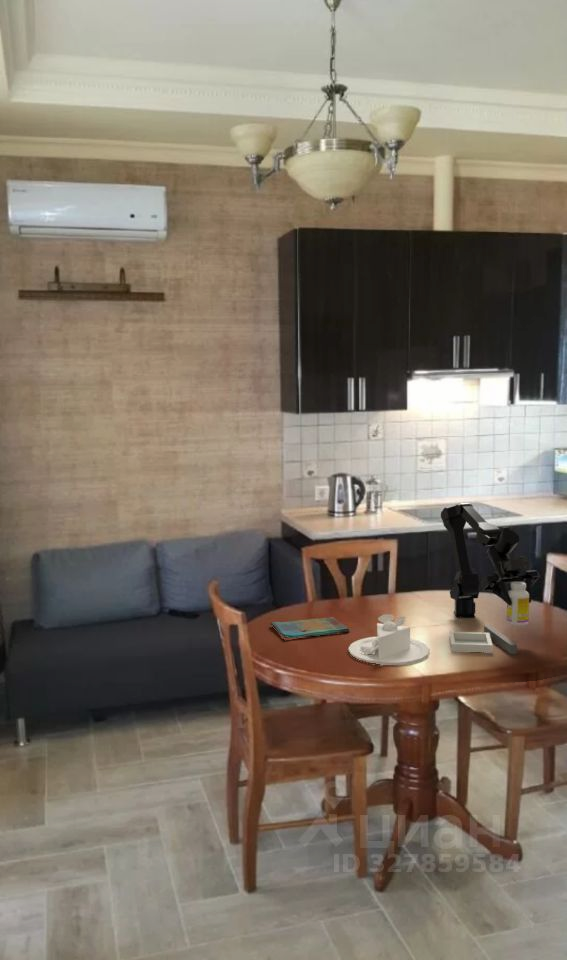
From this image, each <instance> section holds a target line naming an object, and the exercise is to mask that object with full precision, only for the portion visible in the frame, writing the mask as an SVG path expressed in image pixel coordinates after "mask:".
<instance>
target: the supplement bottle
mask: <svg viewBox="0 0 567 960" xmlns="http://www.w3.org/2000/svg"><path fill="white" fill-rule="evenodd" d="M525 589H526V583H524V582H511V583H510V590H508V591H507V593H508V595H509V597H510V599H511V602H512V605H508V604H507V603H506V622H507V623H508V624H509V625H513V626H518V627H519V626H526V625H528V624H529V619H530V603H529V593H528V592H527V591H525Z"/></svg>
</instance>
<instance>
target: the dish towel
mask: <svg viewBox="0 0 567 960" xmlns="http://www.w3.org/2000/svg"><path fill="white" fill-rule="evenodd" d="M271 625H273V627H274V628H275V629H276V630H277V631H278V632H279V633H280V634H282V635H283V636H284V637H285V638H294V637H296V638H297V637H309V638H311V637H310V636H317V637H321V636H320V635H326V636H329V635H328V634H334V635H338V634H337V633H342V634H348V633H347V632H349V633H350V632H351V630H350V628H349V627H347V626H346V625H344V624H343V623H341V622H340V621H339V620H338V619H336V618H335V617H334V616H330V617H323V618H311V619H299V620H295V621H294V620H293V621H282V622H281V621H273V622H272V621H271V622H270V626H271ZM300 630H301V631H303V630H307V631H306V632H301V631H300Z"/></svg>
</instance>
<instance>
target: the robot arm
mask: <svg viewBox="0 0 567 960" xmlns="http://www.w3.org/2000/svg"><path fill="white" fill-rule="evenodd" d="M440 518H441V520H442V524H443V527H444V528H445V529H446V530H447V531H448V532H449V536H450V542H451V547H452V552H453V553H452V554H453V558H454V564H455V569H456V573H455V575H454V579H453V583H454V584H453V587H452V588H451V589H450V591H449V596H450V598H451V599H452V600H454V610H453V614H454V615H455V617H456V618H475V617H476V615H475V614H476V602H475V599H478V598H479V595H480V591H483V592H489V593H493V594H494V595H496V596H497V597H498V598H500V599H501V600H502V601H503V602H505V603H506V605H507V604H508V605H512V602H511V599H510V597H509V595H508V591H507V589H506V584H511V582H524V583H526V589H525V591H527V592H528V593H529V604H531V602H532V593H531V587H532V586H533V585H534V584H535V583H536V582H537V581H538V580H539V579H540V577H541V576H540V574H539V572H538V570H535V569H532V570H531V569H529V570H525V569H526V567H528V566H529V565H530V562H529V559H528V557H527V556H526V555H524V556H523V555H521V556H519V557H518V558H510V556H509V554H511V552H512V551H513V550H514V549H515V548H516V546H517V545H518V544H519V541H520V536H519V534H517V533H516V532H515V531H514V530H512V529H510V527H509V526H506V527H502V529H501V528H499V527H498V526H496V525H495V524H491V523H488V521H486V520H485V518H483V516H481V514H480V513H479V512H478V511H476V509H475V508H474V507H473V504H472V503H470V502H463V503H458V504H455V505H453V506H450V507H449V506H448V507H447V506H446V507H443V509H442V511H441V512H440ZM466 523H467V524H468V526H470V527H471V529H472V530H473V531H474V533H476V536H475V538H476V541H478V543H479V544H480V546H482V547H489V546H490V547H489V548H487V549H486V552H485V558H489V559H490V561H491V563H492V565H493V569H492V572H493V573H492V574H486V575H485V577H483V580H481V582H480V581H479V575H478V573H477V572H474V571H473V570H472V569H471V565H470V564H471V563H470V558H469V553H468V548H467V543H466V537H465V533H464V529H465V526H466ZM523 569H524V570H525V571H524V573H523V574H522V575H518V574H520V573H521V572H522V571H521V570H523ZM494 573H495V574H494Z"/></svg>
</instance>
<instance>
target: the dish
mask: <svg viewBox="0 0 567 960" xmlns="http://www.w3.org/2000/svg"><path fill="white" fill-rule="evenodd" d="M393 619H394V615H392V614H389V613H385V614H382V615H380V616H379V617H378V618H377V620H378V621H379V622H381V623H379V622H377V623H376V636H369V637H365V638H361V639H358V640H355V641H353V642H352V643H350V645H349V647H348V653H349V652H350V653H349V655H350V654H351V655H352V656H353V657H355V658H357V659H359V660H363V661H366V662H370V663H376V664H380V665H379V666H383V665H396V667H397V665H399V666H406V665H407V666H409V665H412V664H415V663H419V662H423V661H424V660H426V659H427V658H428V657H429V655H430V648H429V646H428V645H427V644H426V643H424V642H422V641H421V640H417V639H413V638H411V626H404V625H403V624H404V623H405V621H406V620H405V619H406V617H405V616H399V617H397V618H396V619H395V622H394V621H392V620H393ZM351 655H350V656H351ZM352 656H351V657H352ZM353 657H352V658H353ZM355 658H354V659H355ZM357 659H356V660H357ZM359 660H358V661H359ZM405 664H406V665H405Z"/></svg>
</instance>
